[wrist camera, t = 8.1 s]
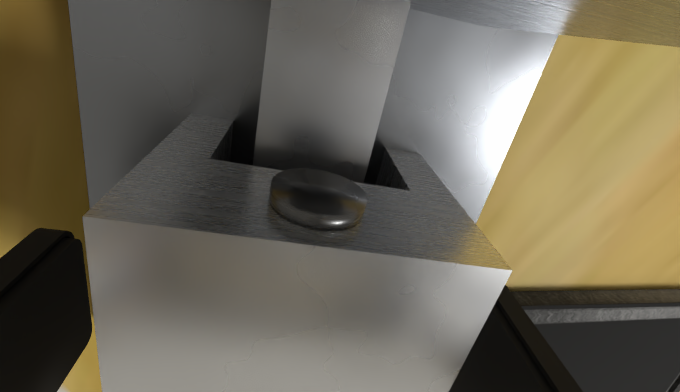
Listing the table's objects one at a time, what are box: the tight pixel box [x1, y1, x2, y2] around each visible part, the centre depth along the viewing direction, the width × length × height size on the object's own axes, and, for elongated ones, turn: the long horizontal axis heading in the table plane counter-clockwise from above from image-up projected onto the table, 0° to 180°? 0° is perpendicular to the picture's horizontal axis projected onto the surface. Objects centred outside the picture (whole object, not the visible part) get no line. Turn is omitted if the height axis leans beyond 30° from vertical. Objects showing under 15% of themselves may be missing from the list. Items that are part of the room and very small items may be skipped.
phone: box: [511, 289, 680, 392], centre depth 16 cm, size 8×1×15 cm
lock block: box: [82, 113, 512, 392], centre depth 9 cm, size 6×7×5 cm
